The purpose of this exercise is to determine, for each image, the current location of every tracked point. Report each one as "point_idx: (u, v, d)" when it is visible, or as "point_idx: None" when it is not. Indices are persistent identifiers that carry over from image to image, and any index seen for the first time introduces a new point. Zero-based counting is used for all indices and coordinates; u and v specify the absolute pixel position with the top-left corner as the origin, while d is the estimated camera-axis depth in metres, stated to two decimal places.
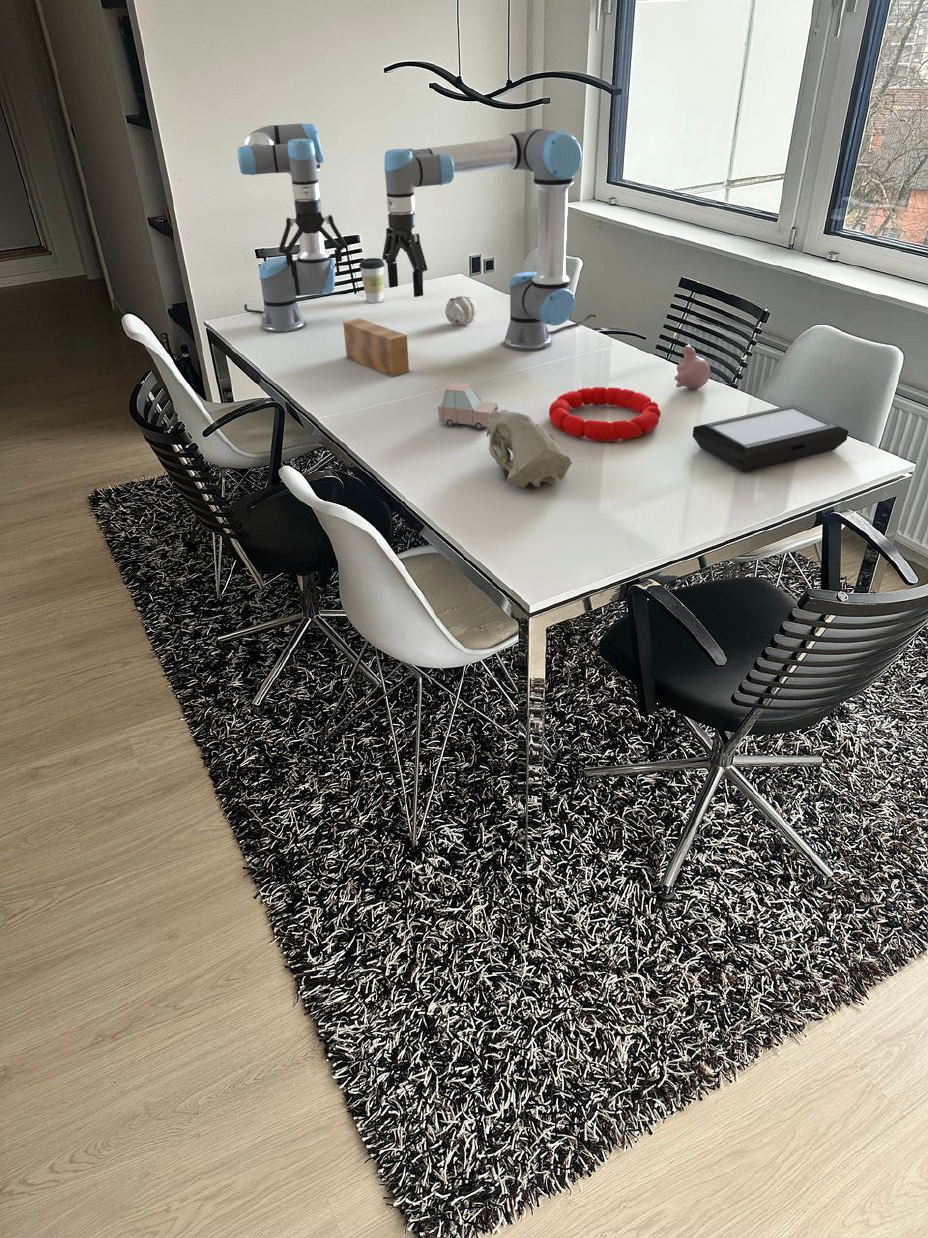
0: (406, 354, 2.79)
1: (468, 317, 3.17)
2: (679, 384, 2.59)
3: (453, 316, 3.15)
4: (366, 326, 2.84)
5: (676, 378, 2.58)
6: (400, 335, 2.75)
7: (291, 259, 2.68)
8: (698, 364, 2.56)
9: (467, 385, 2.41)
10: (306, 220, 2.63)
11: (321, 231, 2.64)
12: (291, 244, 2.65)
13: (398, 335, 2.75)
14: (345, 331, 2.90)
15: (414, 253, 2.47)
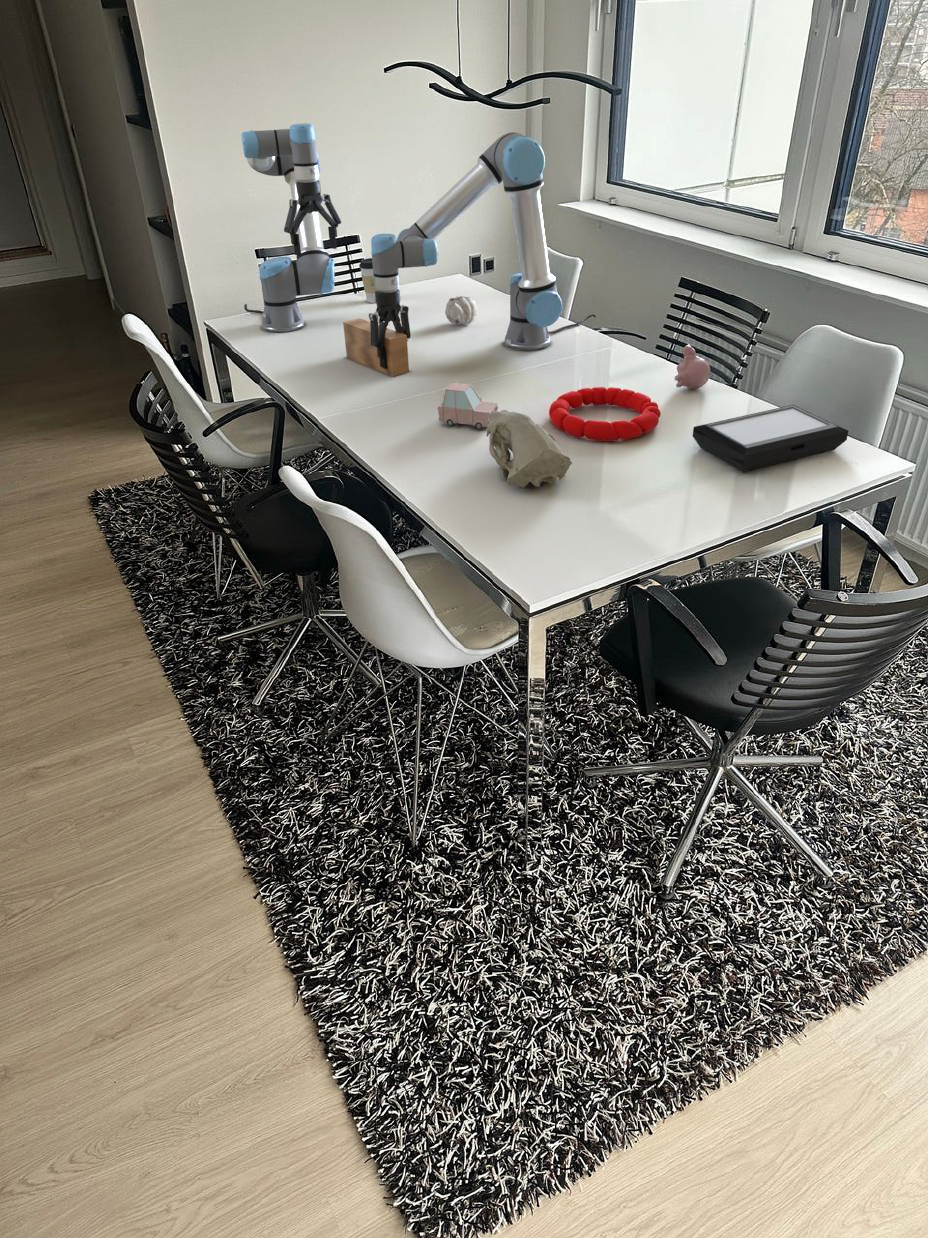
0: (406, 354, 2.79)
1: (468, 317, 3.17)
2: (679, 384, 2.59)
3: (453, 316, 3.15)
4: (366, 326, 2.84)
5: (676, 378, 2.58)
6: (400, 335, 2.75)
7: (298, 238, 2.84)
8: (698, 364, 2.56)
9: (467, 385, 2.41)
10: (309, 200, 2.81)
11: (322, 209, 2.85)
12: (297, 224, 2.82)
13: (398, 335, 2.75)
14: (345, 331, 2.90)
15: (407, 323, 2.77)
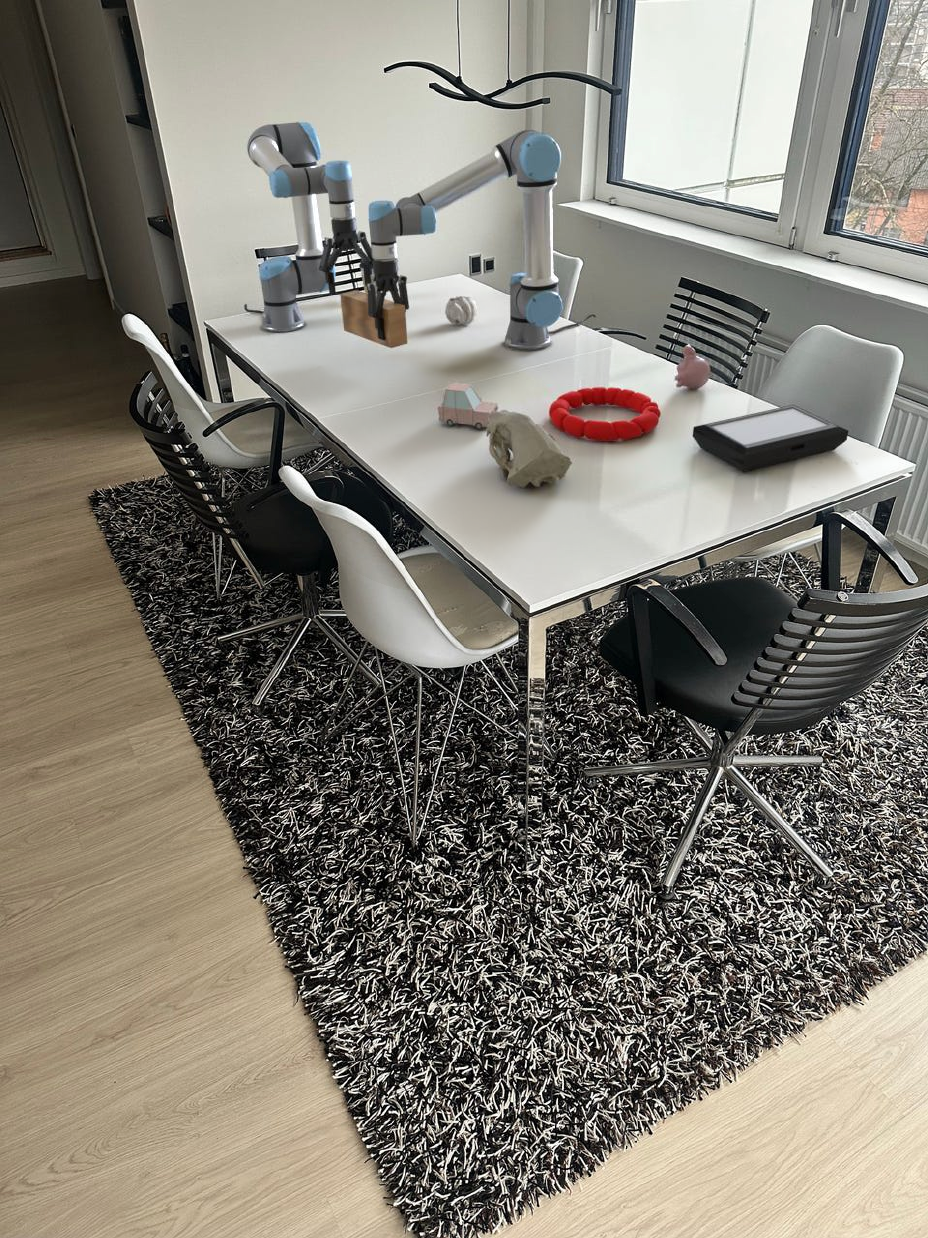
0: (404, 325, 2.74)
1: (468, 317, 3.17)
2: (679, 384, 2.59)
3: (453, 316, 3.15)
4: (364, 298, 2.79)
5: (676, 378, 2.58)
6: (398, 305, 2.70)
7: (333, 277, 2.76)
8: (698, 364, 2.56)
9: (467, 385, 2.41)
10: (344, 238, 2.74)
11: (357, 247, 2.77)
12: (332, 262, 2.74)
13: (396, 305, 2.70)
14: (342, 303, 2.85)
15: (405, 293, 2.72)
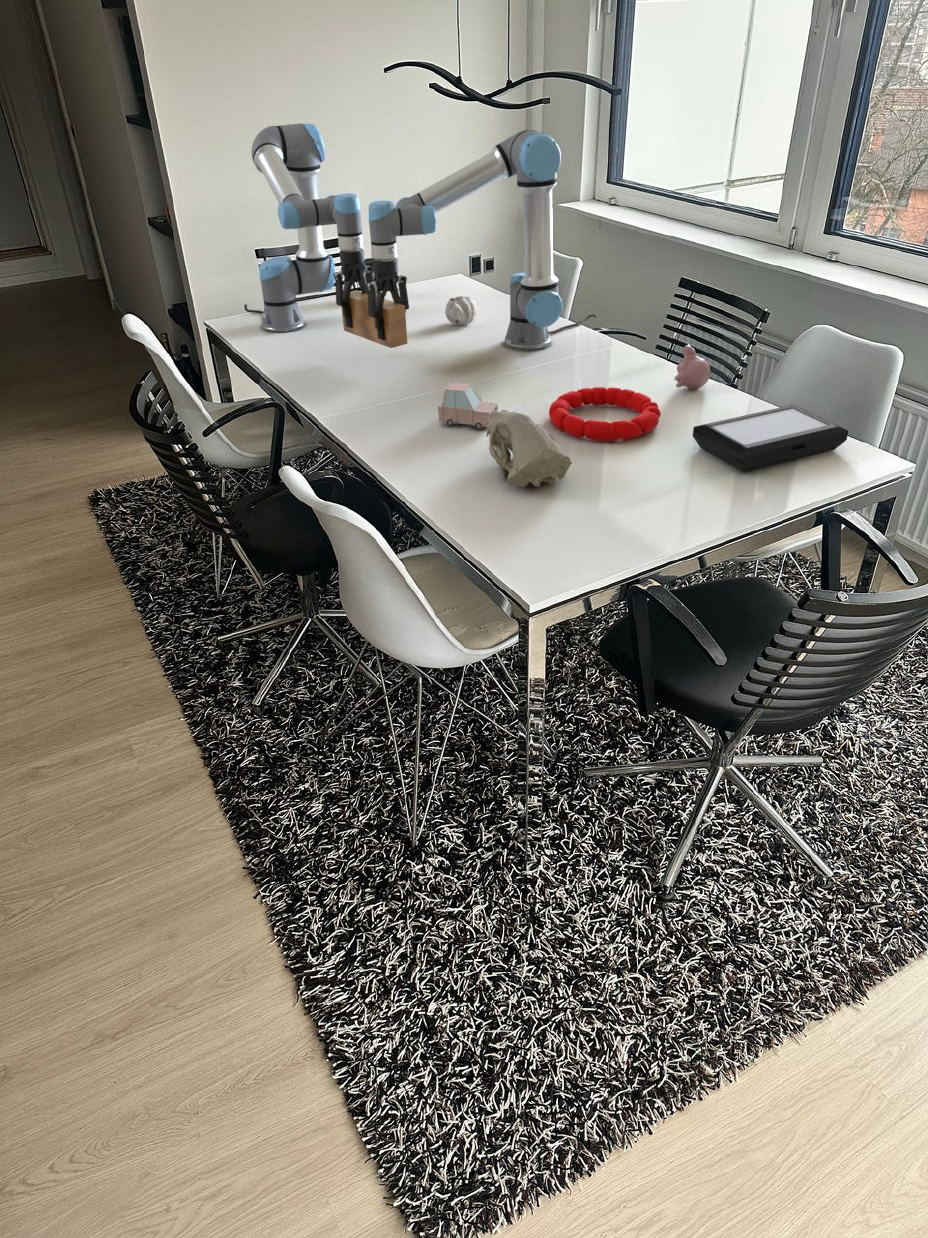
0: (404, 325, 2.74)
1: (468, 317, 3.17)
2: (679, 384, 2.59)
3: (453, 316, 3.15)
4: (364, 298, 2.79)
5: (676, 378, 2.58)
6: (398, 305, 2.70)
7: (350, 311, 2.83)
8: (698, 364, 2.56)
9: (467, 385, 2.41)
10: (352, 266, 2.77)
11: (362, 280, 2.80)
12: (347, 296, 2.80)
13: (396, 305, 2.70)
14: None
15: (405, 293, 2.72)
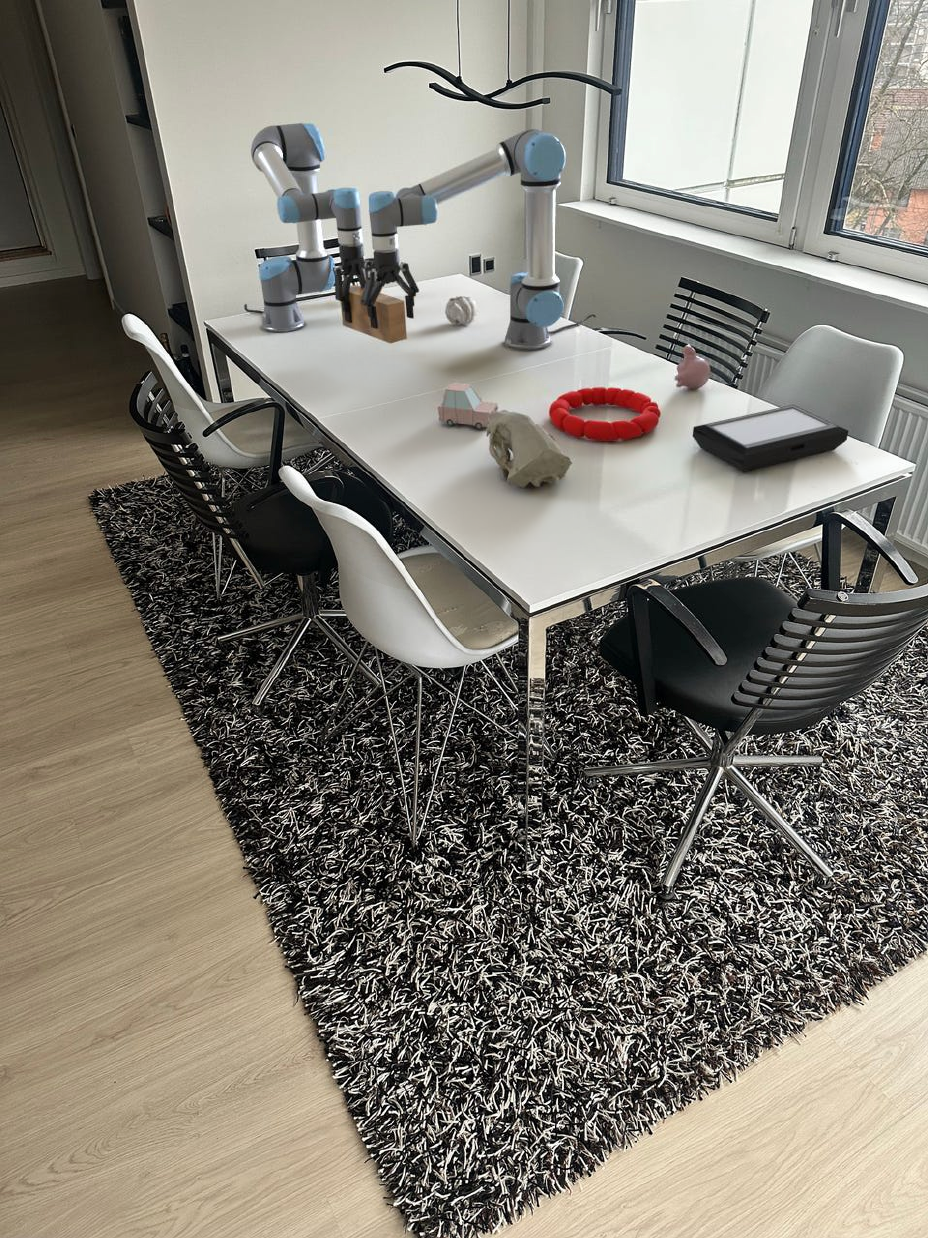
0: (404, 320, 2.73)
1: (468, 317, 3.17)
2: (679, 384, 2.59)
3: (453, 316, 3.15)
4: None
5: (676, 378, 2.58)
6: (397, 301, 2.70)
7: (349, 306, 2.82)
8: (698, 364, 2.56)
9: (467, 385, 2.41)
10: (351, 261, 2.76)
11: (362, 274, 2.80)
12: (347, 291, 2.79)
13: (395, 301, 2.70)
14: None
15: (411, 279, 2.70)
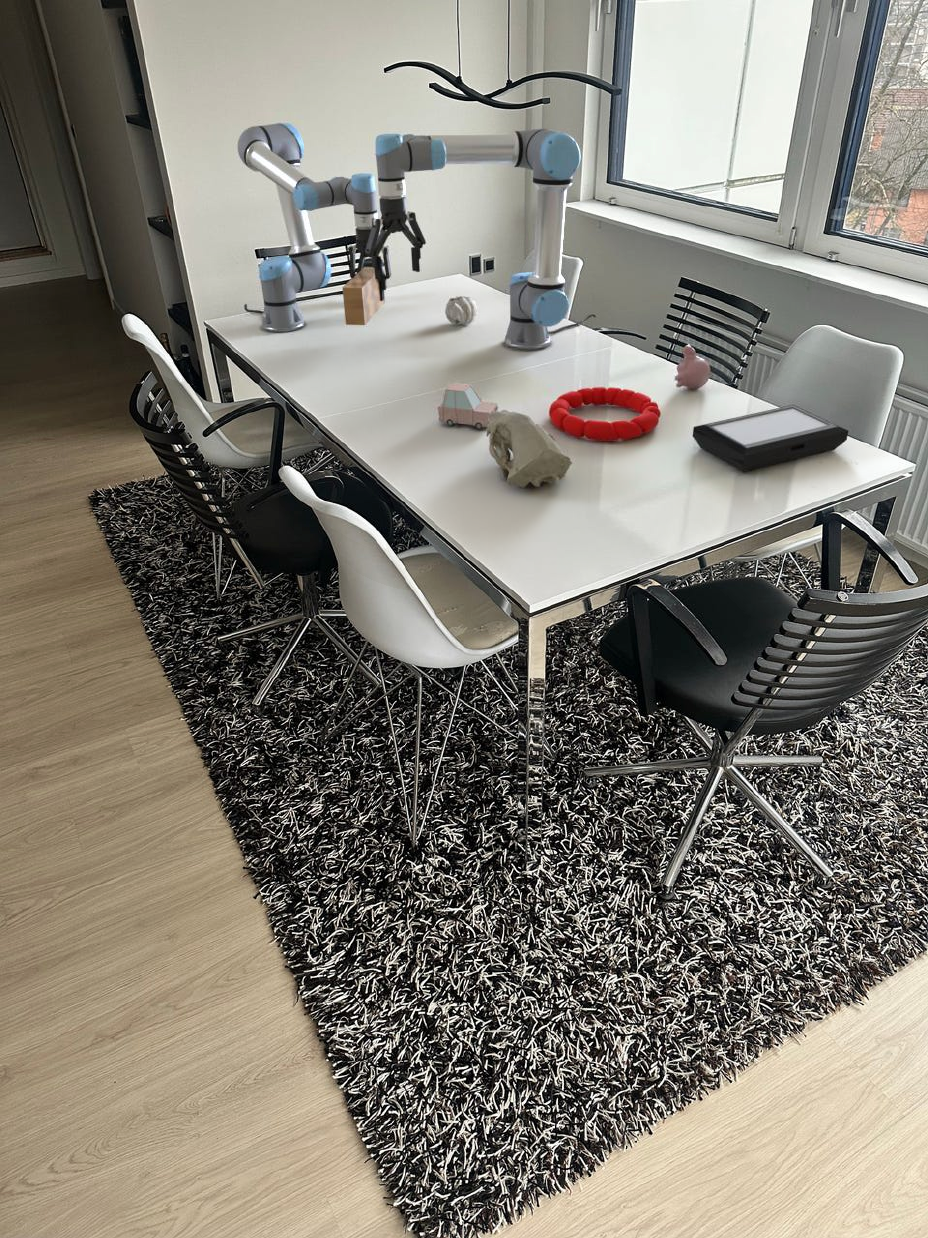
0: (361, 307, 2.83)
1: (468, 317, 3.17)
2: (679, 384, 2.59)
3: (453, 316, 3.15)
4: (363, 274, 2.93)
5: (676, 378, 2.58)
6: (357, 286, 2.80)
7: None
8: (698, 364, 2.56)
9: (467, 385, 2.41)
10: (363, 243, 2.92)
11: None
12: (358, 270, 2.97)
13: (356, 286, 2.81)
14: None
15: (418, 229, 2.59)
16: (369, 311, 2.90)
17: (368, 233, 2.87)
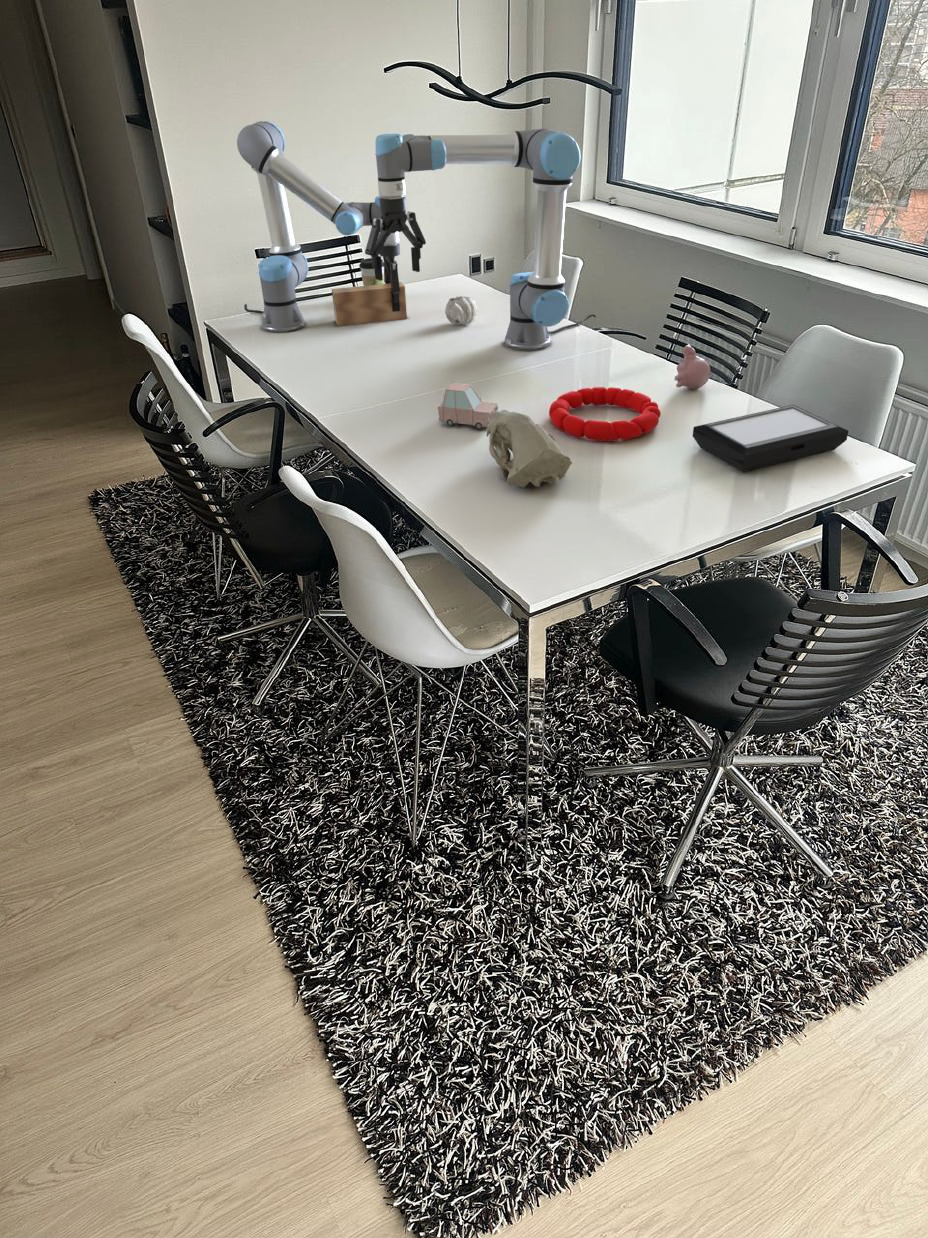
0: (335, 309, 3.23)
1: (468, 317, 3.17)
2: (679, 384, 2.59)
3: (453, 316, 3.15)
4: (375, 286, 3.25)
5: (676, 378, 2.58)
6: (336, 291, 3.20)
7: None
8: (698, 364, 2.56)
9: (467, 385, 2.41)
10: (386, 258, 3.21)
11: (387, 272, 3.20)
12: (385, 277, 3.28)
13: (337, 291, 3.21)
14: None
15: (418, 229, 2.59)
16: (355, 317, 3.25)
17: None
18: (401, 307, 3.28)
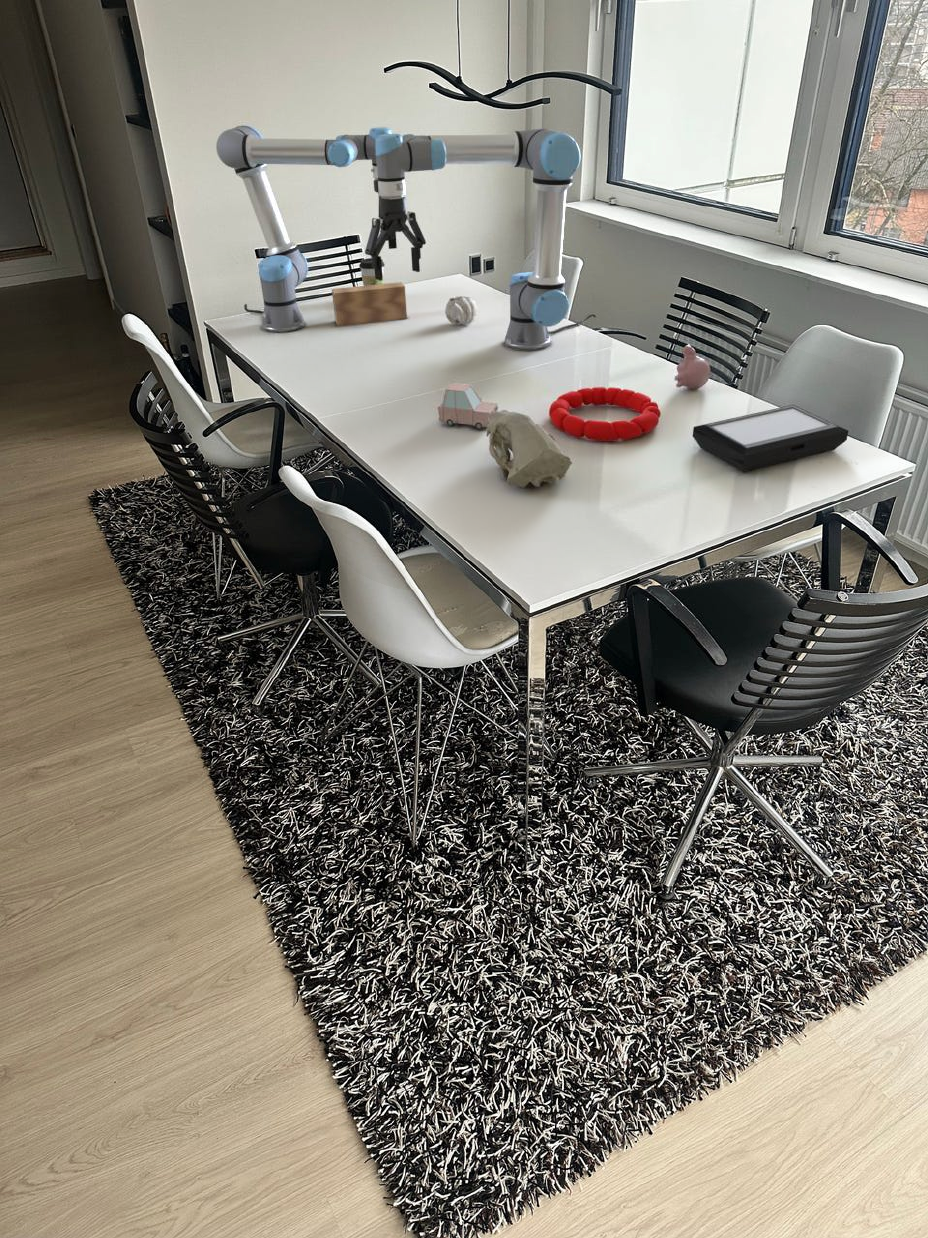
0: (335, 309, 3.23)
1: (468, 317, 3.17)
2: (679, 384, 2.59)
3: (453, 316, 3.15)
4: (375, 286, 3.25)
5: (676, 378, 2.58)
6: (336, 291, 3.20)
7: None
8: (698, 364, 2.56)
9: (467, 385, 2.41)
10: None
11: None
12: (380, 213, 3.17)
13: (337, 291, 3.21)
14: None
15: (418, 229, 2.59)
16: (355, 317, 3.25)
17: (375, 184, 3.04)
18: (401, 307, 3.28)
